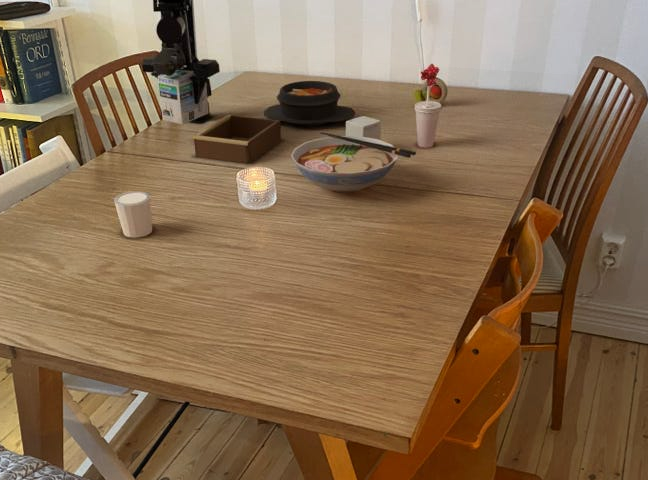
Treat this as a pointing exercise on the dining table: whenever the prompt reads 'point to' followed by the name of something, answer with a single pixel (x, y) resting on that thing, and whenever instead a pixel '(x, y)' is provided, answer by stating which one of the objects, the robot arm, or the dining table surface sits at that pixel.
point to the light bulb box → (181, 98)
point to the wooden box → (221, 148)
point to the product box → (364, 127)
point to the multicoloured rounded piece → (436, 91)
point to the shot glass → (134, 213)
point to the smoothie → (427, 121)
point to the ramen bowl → (346, 161)
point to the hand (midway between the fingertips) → (184, 102)
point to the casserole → (309, 104)
